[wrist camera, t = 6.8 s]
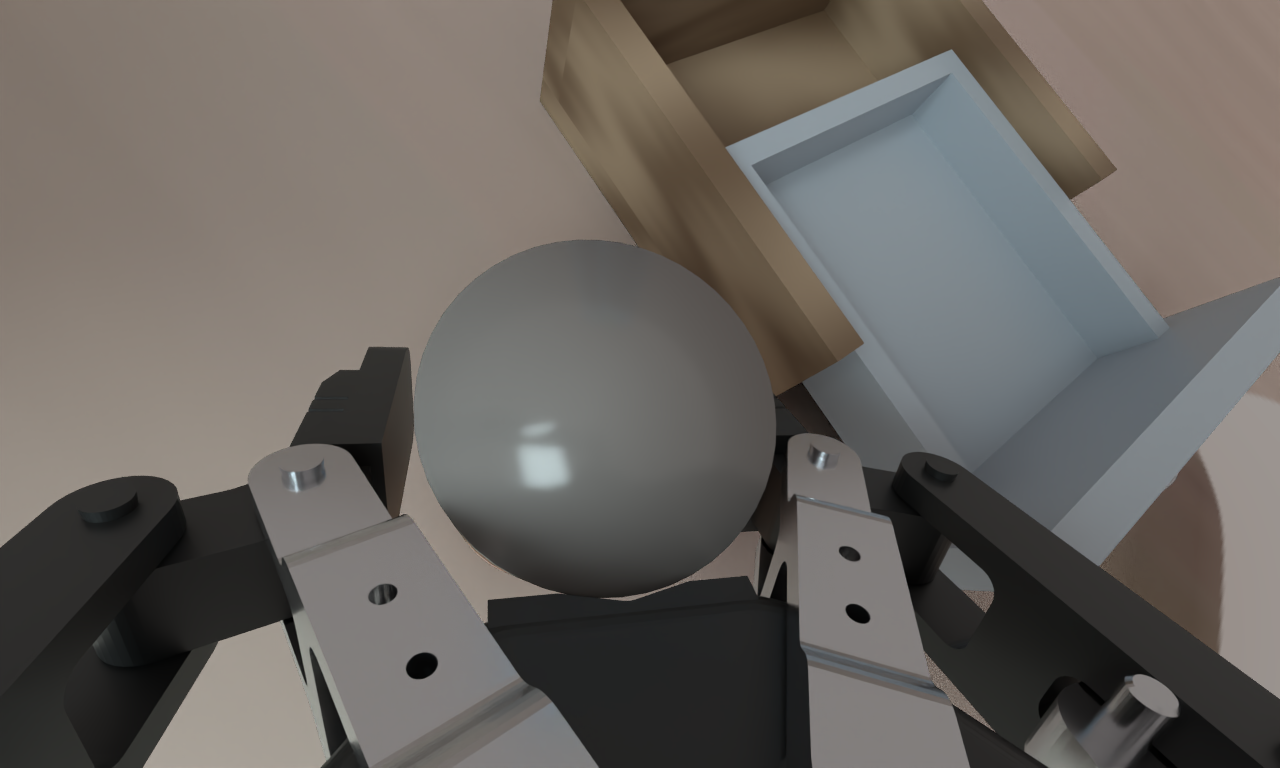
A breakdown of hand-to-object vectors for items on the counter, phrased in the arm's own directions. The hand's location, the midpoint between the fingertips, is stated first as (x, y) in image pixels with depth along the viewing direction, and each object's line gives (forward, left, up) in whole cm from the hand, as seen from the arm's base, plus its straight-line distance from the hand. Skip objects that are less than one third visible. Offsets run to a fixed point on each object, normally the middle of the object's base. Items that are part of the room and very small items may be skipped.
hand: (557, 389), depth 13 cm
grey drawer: (+13, -4, -4) cm, 14 cm away
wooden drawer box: (+13, +4, -4) cm, 14 cm away
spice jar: (-1, -1, -4) cm, 5 cm away
